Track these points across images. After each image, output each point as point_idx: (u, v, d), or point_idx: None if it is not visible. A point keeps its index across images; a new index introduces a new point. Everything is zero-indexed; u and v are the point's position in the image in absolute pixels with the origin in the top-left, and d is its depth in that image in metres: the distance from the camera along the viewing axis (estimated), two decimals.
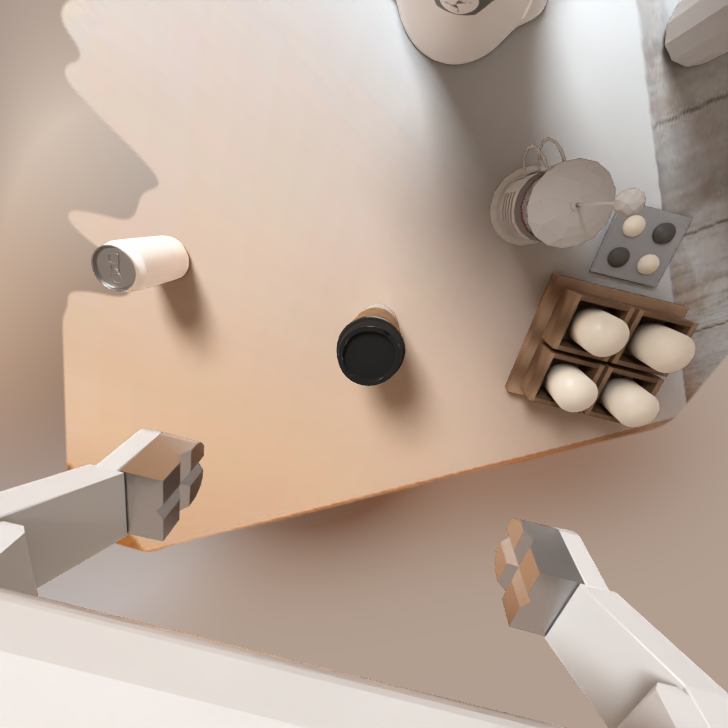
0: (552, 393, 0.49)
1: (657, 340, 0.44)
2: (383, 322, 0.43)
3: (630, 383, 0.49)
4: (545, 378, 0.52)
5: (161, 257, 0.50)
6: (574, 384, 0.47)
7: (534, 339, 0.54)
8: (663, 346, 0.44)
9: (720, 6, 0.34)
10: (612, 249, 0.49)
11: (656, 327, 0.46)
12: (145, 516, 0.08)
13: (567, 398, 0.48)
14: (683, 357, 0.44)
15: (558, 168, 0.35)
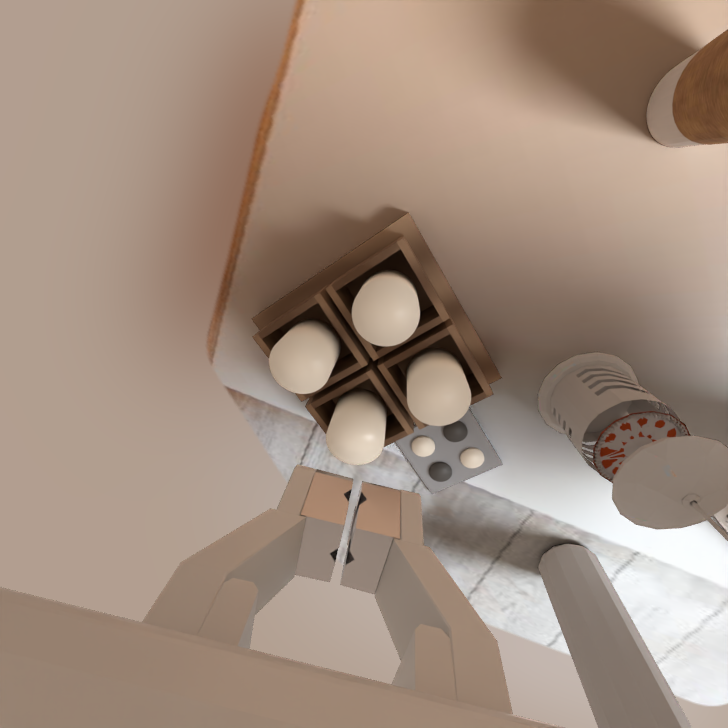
0: (404, 282, 0.28)
1: (384, 437, 0.31)
2: None
3: None
4: (411, 282, 0.30)
5: None
6: (405, 322, 0.27)
7: (451, 302, 0.34)
8: (371, 439, 0.31)
9: (619, 611, 0.38)
10: (468, 431, 0.41)
11: None
12: (317, 558, 0.08)
13: (390, 298, 0.27)
14: (340, 447, 0.32)
15: None
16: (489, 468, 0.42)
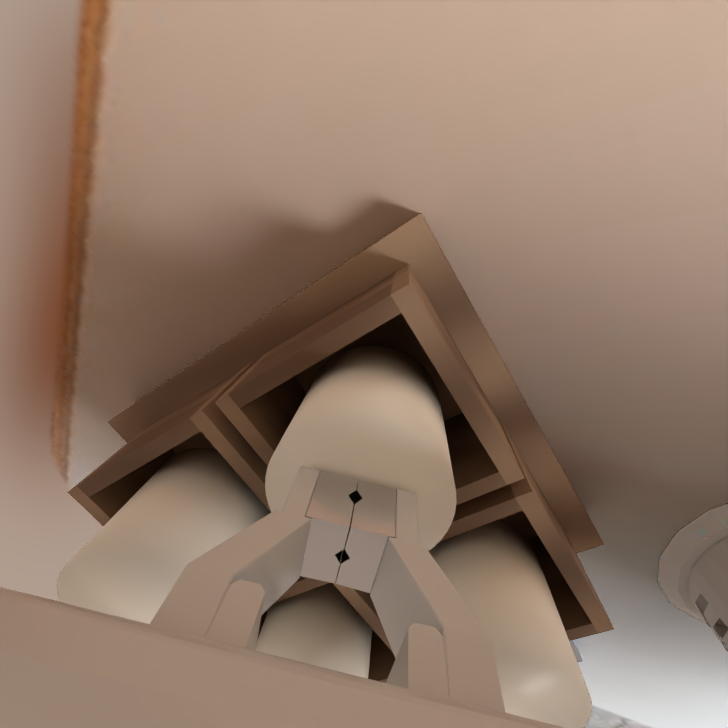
0: (411, 404, 0.10)
1: None
2: None
3: None
4: (428, 379, 0.13)
5: None
6: None
7: (510, 404, 0.16)
8: None
9: None
10: None
11: None
12: (322, 559, 0.08)
13: (371, 463, 0.09)
14: None
15: None
16: None
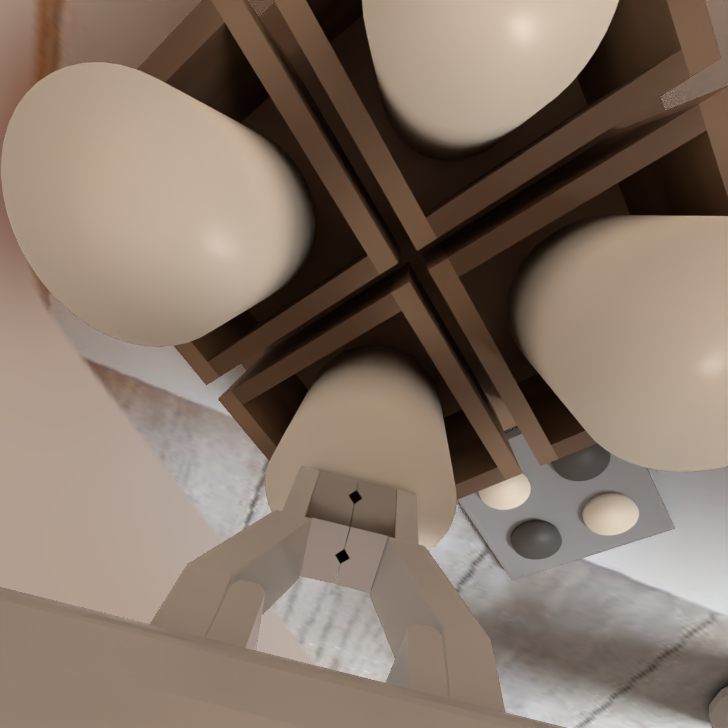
0: None
1: (455, 490, 0.10)
2: None
3: (275, 288, 0.10)
4: None
5: None
6: (562, 17, 0.07)
7: None
8: None
9: None
10: (608, 458, 0.18)
11: None
12: (322, 559, 0.08)
13: None
14: None
15: None
16: (643, 535, 0.20)
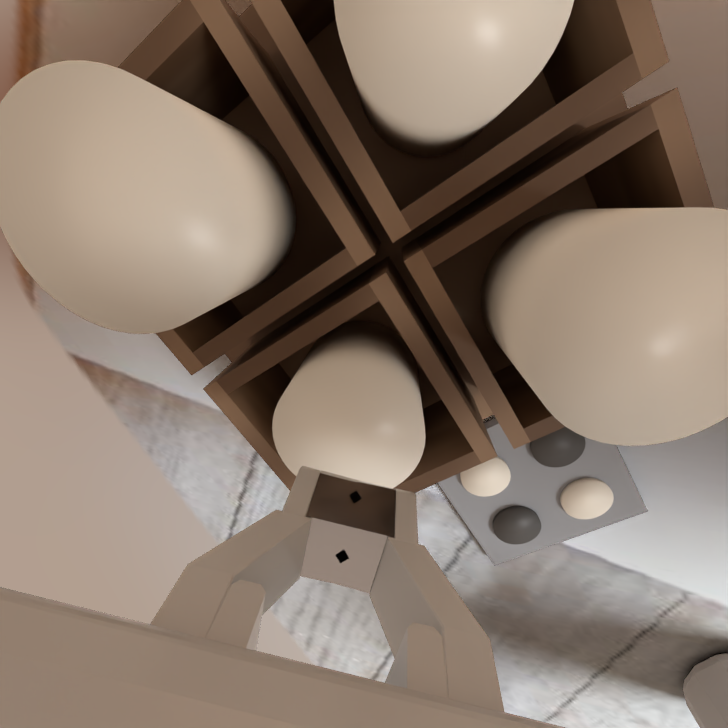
0: None
1: (424, 428, 0.12)
2: None
3: (256, 279, 0.11)
4: None
5: None
6: (520, 22, 0.08)
7: None
8: (392, 432, 0.12)
9: None
10: (584, 444, 0.19)
11: None
12: (322, 560, 0.08)
13: None
14: (309, 454, 0.12)
15: None
16: (618, 518, 0.21)
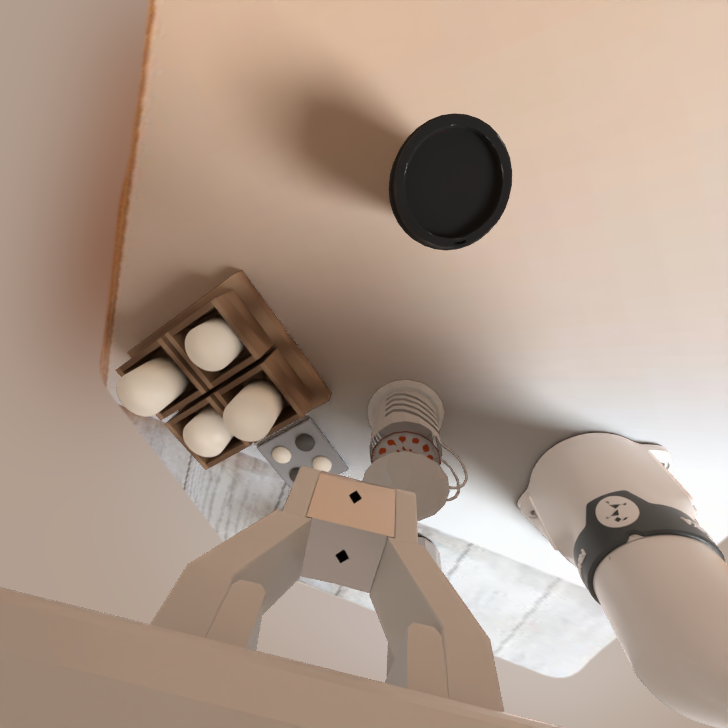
0: (223, 325, 0.39)
1: (224, 436, 0.43)
2: (469, 244, 0.27)
3: (175, 398, 0.41)
4: None
5: None
6: (222, 354, 0.38)
7: (279, 341, 0.43)
8: (215, 437, 0.43)
9: None
10: (315, 442, 0.50)
11: None
12: (322, 559, 0.08)
13: (209, 338, 0.38)
14: (194, 443, 0.43)
15: (443, 501, 0.34)
16: (337, 473, 0.51)
